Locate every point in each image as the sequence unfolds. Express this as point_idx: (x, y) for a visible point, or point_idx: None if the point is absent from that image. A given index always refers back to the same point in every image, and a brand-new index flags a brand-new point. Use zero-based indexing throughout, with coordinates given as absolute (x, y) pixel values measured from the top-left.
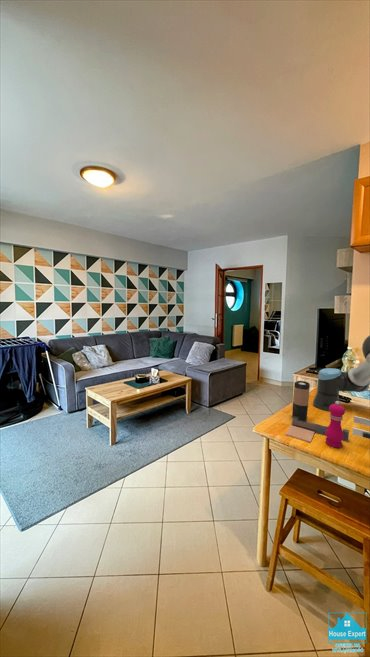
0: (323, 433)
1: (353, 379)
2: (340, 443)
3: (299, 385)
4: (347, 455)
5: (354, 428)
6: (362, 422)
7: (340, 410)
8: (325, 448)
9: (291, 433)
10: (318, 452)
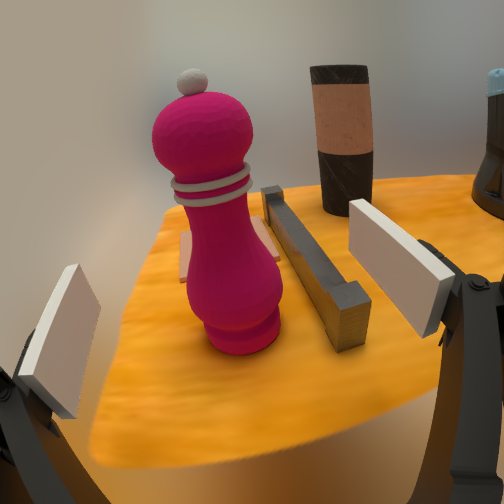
0: (299, 272)
1: None
2: (227, 339)
3: (310, 71)
4: (171, 396)
5: (64, 271)
6: (383, 271)
7: (157, 129)
8: (172, 323)
9: None
10: (123, 318)
